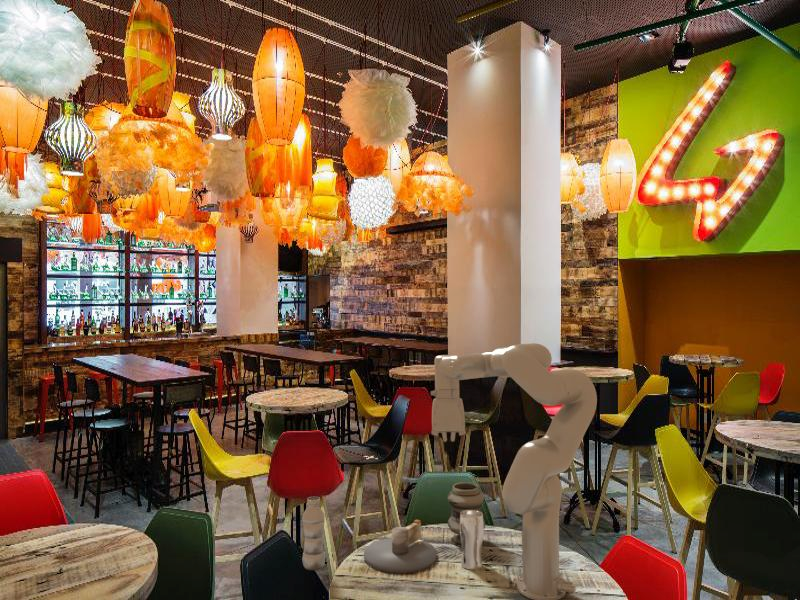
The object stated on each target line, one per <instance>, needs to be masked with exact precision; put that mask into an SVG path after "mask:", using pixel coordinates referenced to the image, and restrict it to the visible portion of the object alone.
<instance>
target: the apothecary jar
mask: <svg viewBox="0 0 800 600" xmlns="http://www.w3.org/2000/svg"><path fill="white" fill-rule="evenodd" d="M447 501H448V503H449V504H450V505H451V508H450V509H451V511H450V512H451V513H450V514H451V515H450V517H449V519H448V520H447V526H448V528H449V530H450V531H451V532H452V533H454V534H456V535H454V536H453V537H451V539H450V541H451V543H452V545H454V546H458V547H460V548H462V543H461V537H460V513H461V512H462V511H464V510H477V511H480V512H482V508H481V506H482V505H483V504H484V503H485V496H484V494H483V493H482V492H481V490H480V487H479V484H477V483H474V482H468V481H467V482H465V481H463V482H456V483H454V484H453V485H452V488H451V491H450V492H449V493H448V494H447ZM483 524H484V529H485V528H486V522H485V520H484V519H483Z"/></svg>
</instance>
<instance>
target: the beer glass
mask: <svg viewBox="0 0 800 600" xmlns="http://www.w3.org/2000/svg"><path fill="white" fill-rule="evenodd" d="M483 520H484V514H483V512H482V511H481V512H480V511H477V510H464V511H462V512H461V513H460V537H461V543H462V547H461V549H462V559H461V567H463V569H465V568H466V570H471V571H476V570H480V569H482V568H483V560H482V547H483V540H484V531H485V528H484V524H483Z"/></svg>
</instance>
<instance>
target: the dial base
mask: <svg viewBox="0 0 800 600" xmlns="http://www.w3.org/2000/svg"><path fill="white" fill-rule="evenodd" d="M437 556H438V555H437V549H436V547H435V546H433V545H432V544H431V543H429V542H427V541H425V540H424V539H423V540H421V539H419V540H417V541H415V542H414V543H412V544H410V545H409V551H408V552H407V553H405V554H395V553H393V552H392V537H389V538H384V539H380V540H376V541H374V542H372V543H370V544H369V545H367V546H366V547H365V548H364V551H363V560H364V559H365V560H364V562H365V561H366V562H365V563H366V565H368V566H369V567H370V566H371V569H372V568H373V569H374V570H377V571H379V572H380V571H381V572H385V573H391V574H409V573H414V572H415V573H417V572H420V571H423V570H425V569H428V568H430V567H431V566H433V565H435V563H436V561H437V559H438V557H437Z"/></svg>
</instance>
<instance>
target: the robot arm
mask: <svg viewBox="0 0 800 600" xmlns="http://www.w3.org/2000/svg"><path fill="white" fill-rule="evenodd" d="M551 364H552V355H551V352H550V349H548V348H547V346H545V345H542V344H539V343H535V342H534V343H518V344H517V343H516V344H513V345H511V346H505V347H498V348H495V349H494V350H493V351H491V352H483V353H482V352H481V353H467V354H466V353H464V354H456V355H455V354H440V355H437V356H435V358H434V390H431V391H430V396H434V397H435V398H433V401H432V406H431V431H430V432H431V433H430V434H431V435H432V436H436V437H439V438H440V439H441V440H442V441H443V447H444V448H443V449H444V452H446V455H450V456H451V455H453V452H454V451H455V441H456V440H457V438H458V437H461V436H464V435H466V434H467V432H466V421H465V420H466V419H465V409H464V403H463V398H460V381H463V380H465V381H466V380H470V379H480V378H490V377H491V378H492V377H498V378H503V379H505V378H511V379H512V380H513V381H514V382H515V383H516V384H517V385H519V387H521V389H523V391H525V392H526V393H527V395H529V396H530V397H531V398H532V399H533V400H534V401H536V402H537V403H538V404H541V405H543V406H547V407H549V406H550V407H551V406H552V407H554V406H558V405H561V407H560V408H559V410H558V411H557V412H556V414H555V415H554V417H553V418H552V419H551V423H550V424H549V427H548V429H547V431H546V433H545V434H544V436H542V437H540V438H538V439H534V440H531V441H528V442H526V443H525V444H523V445H522V446H521V447H520V448H519V449H518V451H517V453H516V455H515V457H514V459H513V462H512V464H511V466H510V469H509V471H508V472H507V475H506V478H505V480H504V483H503V488H502V499H503V502H504V504H505V507H506V508H507V509H508V510H509V511H511V512H512V513H514V514H517V515H522V520H521V521H522V523H521V527H522V528H521V530H522V531H521V538H522V539H521V543H522V544H521V545H522V547H521V548H522V552H521V553H522V555H521V556H522V559H521V560H522V577H520V578H519V579H518V580H517V582H516V590H517V591H518V593H519V594H521V595H522V596H524V597H526V598H528V599H531V600H562V599H563V598H564V597H566V593H569V594H573V595H575V594H576V591H577V587H576V585H575V584H574V581H572V580H566V579H565V578H564V573H563V572H560V509H561V502H562V497H563V487H562V483H561V480H560V478H559V476H558V475H559V474H561V473H564V472H566V471H567V470H568V469H569V468H570V466H571V464H572V463H573V460H574V458H575V457H576V454H577V452H578V449H579V447H580V445H581V443H582V441H583V438H584V436H585V434H586V432H587V430H588V428H589V426H590V424H591V422H592V421H593V418H594V417H595V413H596V409H597V403H598V395H597V391H596V388H595V385H594V384H593V381H592V380H591V378H590V377H589V375H587V374H586V373H584V372H583V371H581V370H577V369H571V368H570V369H569V368H568V369H564V368H563V369H558V370H557V369H556V370H548V369H549V368H550V366H551ZM447 433H450V437H449V438H448V437H447Z"/></svg>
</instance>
